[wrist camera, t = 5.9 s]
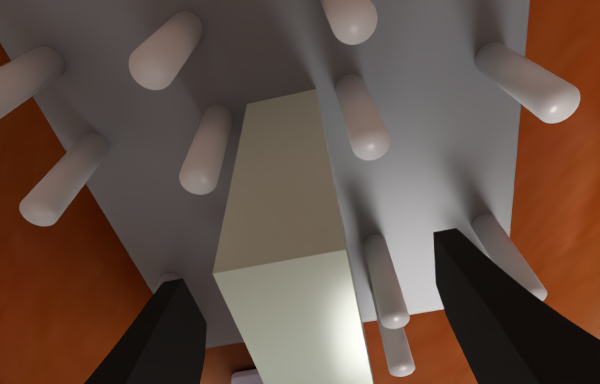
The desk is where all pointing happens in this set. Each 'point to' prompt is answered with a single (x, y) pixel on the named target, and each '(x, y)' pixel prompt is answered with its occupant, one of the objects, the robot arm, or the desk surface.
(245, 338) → the pale rectangular block
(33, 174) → the desk surface
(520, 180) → the desk surface
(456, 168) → the dish rack
